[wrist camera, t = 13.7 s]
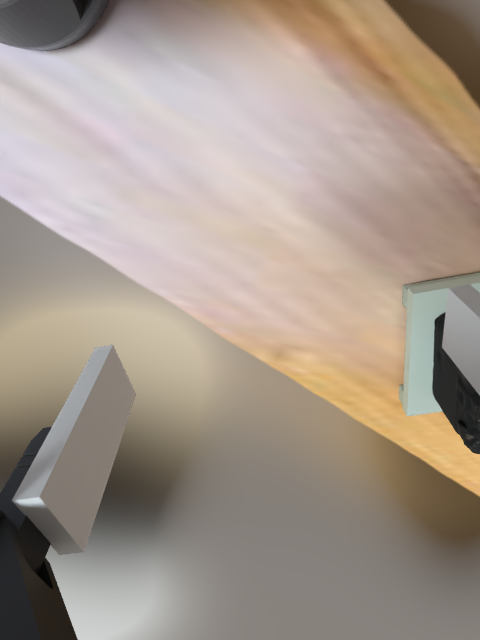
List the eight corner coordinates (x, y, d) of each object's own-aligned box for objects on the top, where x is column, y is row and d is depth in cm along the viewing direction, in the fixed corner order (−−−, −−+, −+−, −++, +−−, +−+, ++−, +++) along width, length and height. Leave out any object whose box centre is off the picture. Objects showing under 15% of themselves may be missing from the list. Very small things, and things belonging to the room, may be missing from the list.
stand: (402, 281, 43) (413, 293, 41) (550, 256, 42) (571, 267, 39) (398, 400, 53) (406, 416, 51) (518, 383, 51) (532, 398, 49)
